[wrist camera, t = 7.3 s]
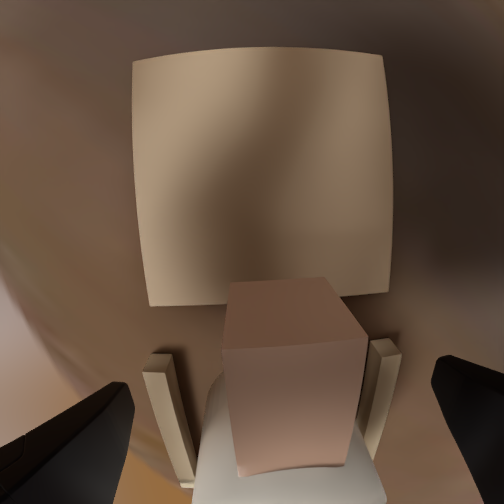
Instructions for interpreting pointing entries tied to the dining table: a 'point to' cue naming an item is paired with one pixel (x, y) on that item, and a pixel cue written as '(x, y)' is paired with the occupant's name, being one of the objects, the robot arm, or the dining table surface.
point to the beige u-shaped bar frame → (176, 427)
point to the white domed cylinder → (287, 401)
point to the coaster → (262, 170)
